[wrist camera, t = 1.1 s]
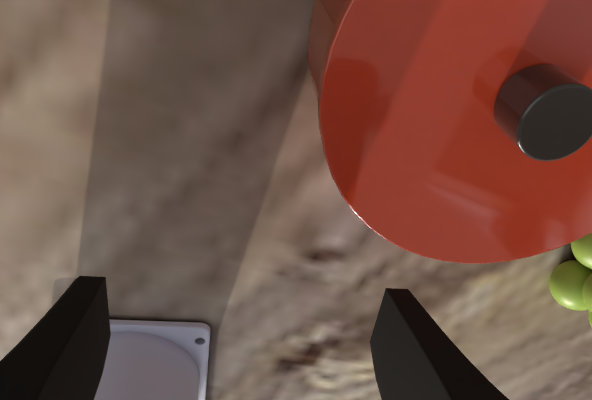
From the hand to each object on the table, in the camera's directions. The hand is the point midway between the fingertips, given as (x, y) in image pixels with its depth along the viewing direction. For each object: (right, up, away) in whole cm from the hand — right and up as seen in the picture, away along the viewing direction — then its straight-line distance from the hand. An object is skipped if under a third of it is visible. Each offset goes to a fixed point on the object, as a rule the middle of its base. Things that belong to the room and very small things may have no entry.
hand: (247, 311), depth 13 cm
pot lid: (+8, +6, +2) cm, 10 cm away
